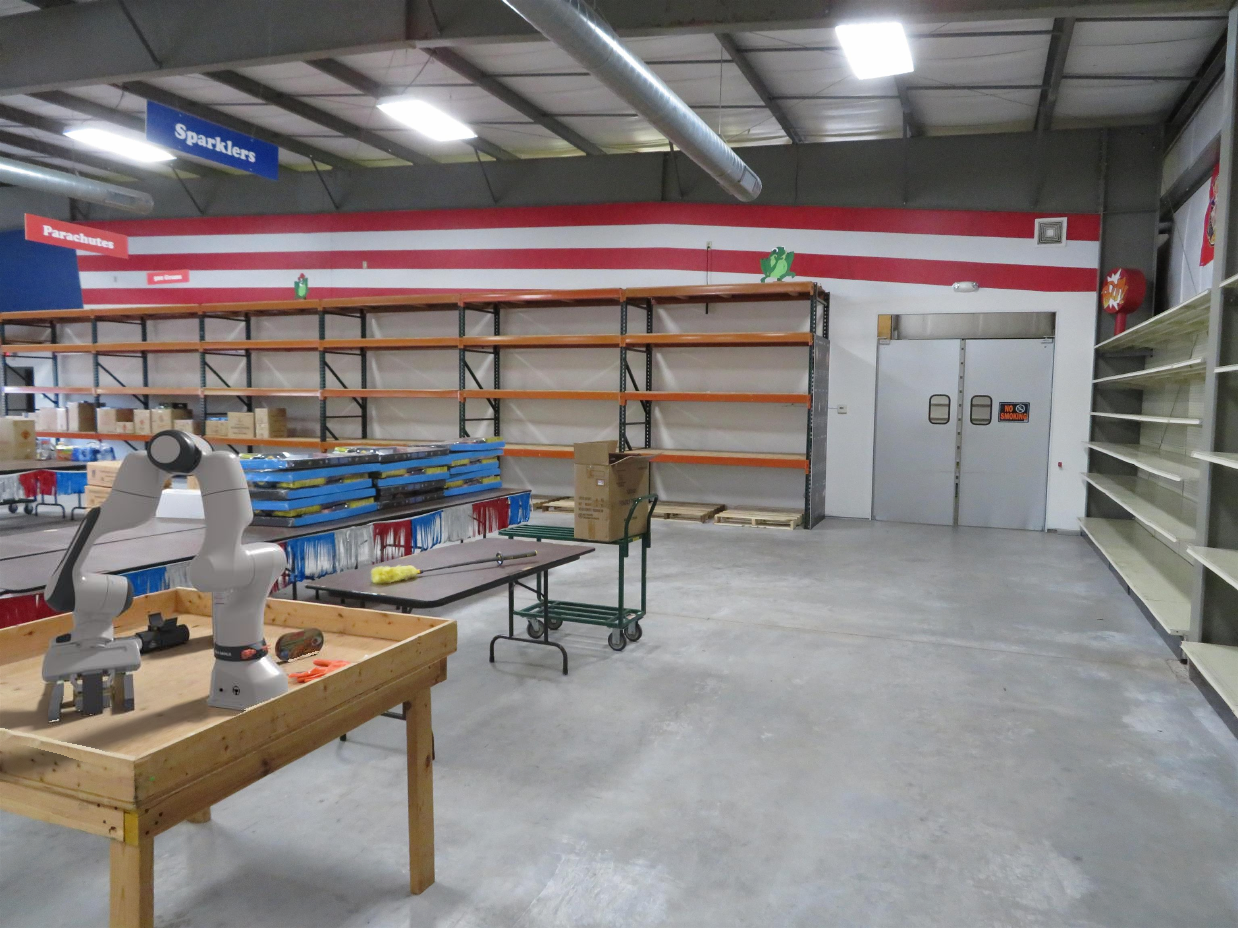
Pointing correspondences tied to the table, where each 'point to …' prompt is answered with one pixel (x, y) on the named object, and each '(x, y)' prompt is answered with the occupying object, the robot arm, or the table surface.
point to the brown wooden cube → (110, 690)
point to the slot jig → (59, 693)
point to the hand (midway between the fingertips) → (92, 690)
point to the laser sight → (162, 633)
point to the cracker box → (217, 602)
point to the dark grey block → (92, 693)
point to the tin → (299, 643)
